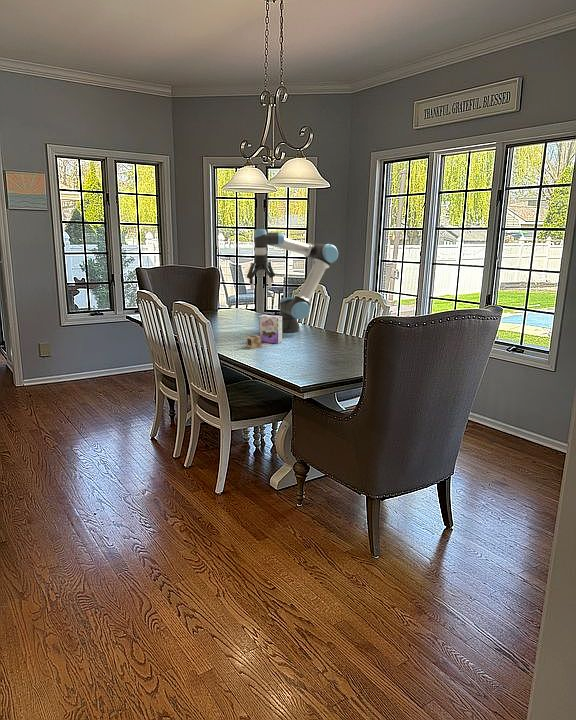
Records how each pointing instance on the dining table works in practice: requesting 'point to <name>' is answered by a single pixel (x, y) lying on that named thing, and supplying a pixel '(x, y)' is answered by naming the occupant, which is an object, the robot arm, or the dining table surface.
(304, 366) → the dining table surface
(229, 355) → the dining table surface
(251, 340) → the cube
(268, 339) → the candy box
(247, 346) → the terracotta tile
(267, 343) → the grey tile
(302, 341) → the dining table surface
